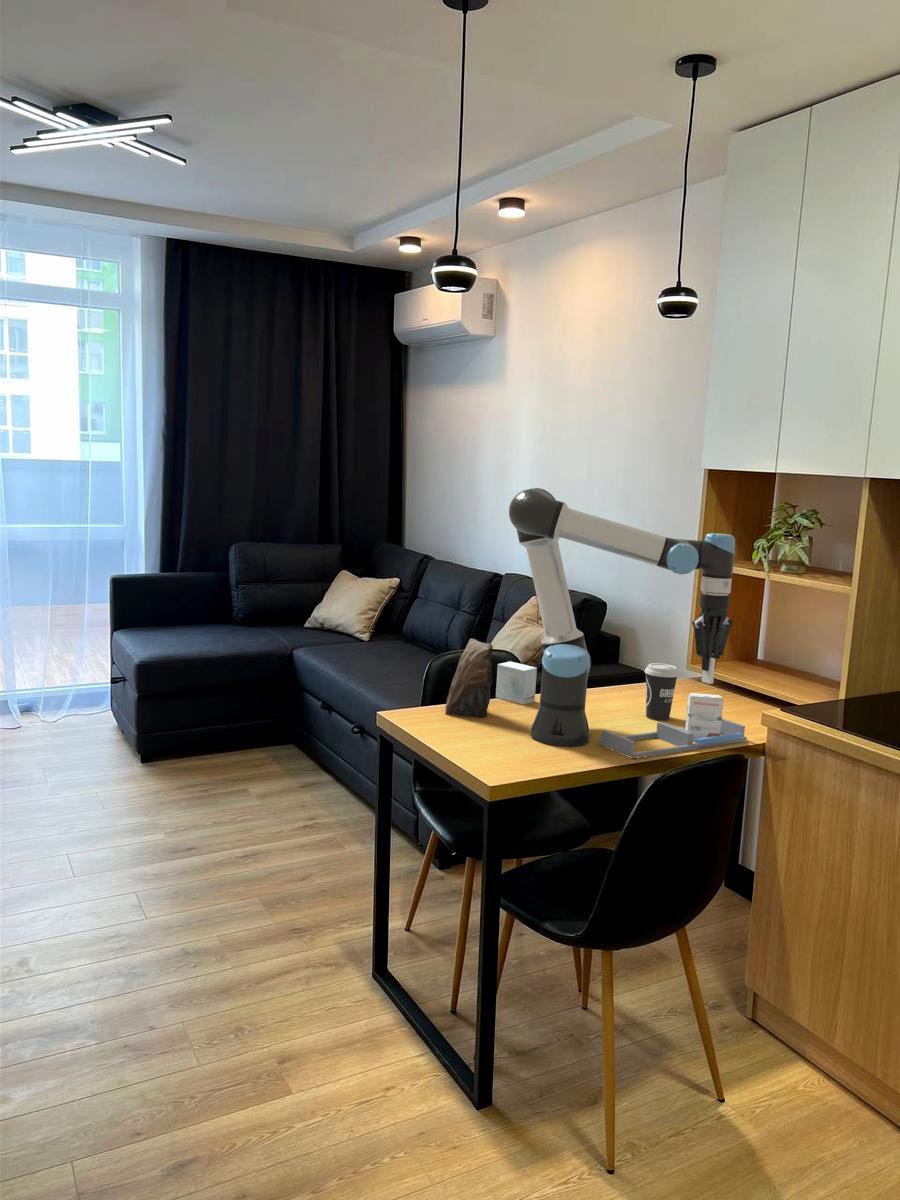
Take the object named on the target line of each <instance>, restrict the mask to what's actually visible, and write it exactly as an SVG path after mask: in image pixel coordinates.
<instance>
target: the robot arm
mask: <svg viewBox="0 0 900 1200" xmlns="http://www.w3.org/2000/svg"><path fill="white" fill-rule="evenodd" d="M508 507H509V508H508V516H509V520H510V522H511V524H512V525H513V526H514V528H515V529H516V533H517V538H518V544H519V545H521V546H523V547H524V548H525V549H526V551H527V552H526V553H527V556H528V562H529V567H530V572H531V576H532V580H533V585H534V589H535V593H536V594H535V595H536V599H537V603H538V608H539V612H540V613H539V614H540V617H541V622H542V626H543V631H544V632H543V633H544V637H543V638H542V639H541V641H540V643H541V648H542V652H543V656H542V658H541V664H542V667H541V680H540V681H541V682H540V683H541V684H540V694H539V695H540V696H539V707H538V710H537V713H536V715H535V718H534V720H533V723H532V724H531V728H530V737H531V738H532V739H533V740H535V741H537V742H540V743H542V744H543V743H544V744H548V745H553V746H562V747H577V746H582V745H586V744H587V743H589V742H590V738H591V737H590V736H591V730H590V728H589V722H588V717H587V714H586V703H587V701H586V700H587V689H588V688H587V687H588V679H589V673H590V670H591V667H592V666H591V665H592V659H591V655H590V653H589V650H588V649H587V645H586V640H585V634H584V632H582V631H581V630H579V629H578V628H577V625H576V620H575V615H574V610H573V606H572V602H571V597H570V592H569V588H568V583H567V578H566V574H565V573H566V571H565V568H564V564H563V559H562V556H561V555H562V554H561V550H560V545H559V540H560V539H565V540H568V541H570V542H571V541H572V542H575V543H579V544H582V545H586V546H588V547H592V548H595V549H599V550H602V551H604V552H605V551H606V552H609V553H611V554H612V553H613V554H616V555H619V556H623V557H625V558H629V559H632V560H636V561H639V562H643V563H645V564H648V565H649V564H650V565H653V566H655V567H659V568H661V569H665V570H669V571H671V572H672V573H674V574H677V575H681V576H683V575H688V574H690V573H692V572H693V571H694V570H702V574H701V583H700V591H701V593H700V594H699V595H700V596H699V605H698V606H699V607H700V609H701V611H700V613H699V618H697V619H693V620H692V621H691V624H692V627H693V628H694V629H693V630H694V641H695V651H696V655H697V656H699V657H700V658H702V659H701V670H702V671H701V672H702V673H701V682H702V683H706V684H709V685H710V684H711V685H712V684H714V678H715V670H716V667H717V659H718V660H719V659H721V657H722V656H723V655H724V652H725V648H726V645H727V641H728V637H729V633H730V629H731V628H732V625H733V624H734V620H733V619H730V618H729V617H728V612H727V611H728V610H729V609H730V604H731V603H730V602H731V596H730V595H729V594H731V592H732V591H731V590H732V582H733V580H732V579H733V574H734V573H733V569H734V561H735V554H736V553H735V548H736V547H735V546H736V538H735V537H734V536H733V535H732V534H728V533H727V534H726V533H714V532H711V533H707V534H706V535H705V537H704V539H703V540H695V539H682V538H673V537H667V536H663V535H661V534H657V533H654V532H650V531H647V530H643V529H640V528H638V527H633V526H630V525H626V524H623V523H620V522H616V521H613V520H609V519H606V518H603V517H599V516H596V515H593V514H590V513H586V512H583V511H579V510H575V509H572V508H571V507H569V505H567V503H566V502H563V501H560V500H557V499H556V498H555V497H554V496H553V494H552V493H551V492H549V491H547V490H546V489H543V488H539V487H535V488H529V489H525V490H522V491H521V490H520V492H518V493H517V494H516V495H515V496H514V497H513V498H512V500H511V502H510V504H509V506H508Z"/></svg>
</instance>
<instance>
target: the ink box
mask: <svg viewBox="0 0 900 1200" xmlns="http://www.w3.org/2000/svg"><path fill="white" fill-rule="evenodd" d="M723 706H724V698H723V697H722V695H718V694H706V693H694V692H689V693H688V695H687V706H686V717H685V718H686V719H685V727H684V728H685V730H686V731H689V732H692V733H694V736H693V742H696V739H699V738H706V737H712V736H719V735H721V734H720V732H721V722H722V718H723V711H724V710H723V709H724V707H723Z"/></svg>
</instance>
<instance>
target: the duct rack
mask: <svg viewBox="0 0 900 1200" xmlns="http://www.w3.org/2000/svg"><path fill="white" fill-rule="evenodd" d="M745 730H746V725H744V724H741V723H737V722H734V721H732V720H728V719H725V718H723V717H722V722H721V732H720V735H719V736H712V737H706V738H699V739H696V741H695V743H694V741H693V736H694V733H692V732H689V731H686V730H685V727H679V726H678V727H677V726H675V725H673V724H669V723H667V722H665V721H664V722H663V721H662V722H661V721H658V722H657V724H656V731H650V732H643V733H638V734H628V735H619V734H617V733H615V732H612V731H609V730H608V729H601V736H600V737H601V738H599V739H598V741H597V744H598V745H599V744H600V745H599V746H601V745H602V746H601V747H604V748H606V747H608V748H610V749H609V750H611V749H613V750H614V751H613V750H612V751H613V752H615V751H617V752H616V753H618V752H619V753H618V754H620V753H622V754H624V755H623V756H625V755H627V756H630V757H632V758H637V757H644V756H651V757H656V755H657V756H662V755H663V756H664V755H668V754H674V753H675V754H676V753H682V752H688V751H694V750H700V749H707V748H715V747H722V746H725V745H726V746H727V745H734V744H741V743H747V742H748V741H747V739H748V736H745ZM655 738H657V739H659V740H662V741H664V742H667V743H669V744H672V745H675V746H669V747H663V748H656V749H649V750H644V751H637V752H635V746H636V745H635V744H636V741H640V740H647V739H655ZM608 748H607V749H608ZM622 754H621V755H622ZM654 755H655V756H654ZM627 756H626V757H627ZM632 758H631V759H632ZM644 758H645V757H644Z"/></svg>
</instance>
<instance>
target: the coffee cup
mask: <svg viewBox="0 0 900 1200" xmlns="http://www.w3.org/2000/svg"><path fill="white" fill-rule="evenodd" d="M644 673H645V717H646V718H647V719H649V720H653V721H659V722H661V721H662V722H663V721H664V722H665V721H668V720H669V719H670V715H671V710H672V707H673V705H672V704H673V701H674V695H675V690H676V689H675V687H676V683H677V678H678V677H679V676H680V674H679V671H678V670H677V667H676V666H675V665H672V664H669V663H659V662H657V663H656V662H655V663H649V664H647V666H646V668H645V670H644Z"/></svg>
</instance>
